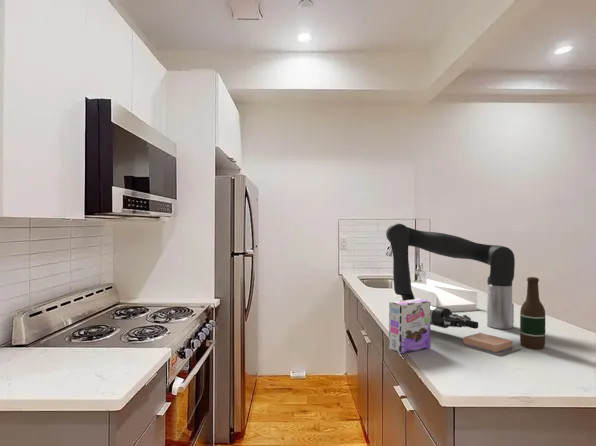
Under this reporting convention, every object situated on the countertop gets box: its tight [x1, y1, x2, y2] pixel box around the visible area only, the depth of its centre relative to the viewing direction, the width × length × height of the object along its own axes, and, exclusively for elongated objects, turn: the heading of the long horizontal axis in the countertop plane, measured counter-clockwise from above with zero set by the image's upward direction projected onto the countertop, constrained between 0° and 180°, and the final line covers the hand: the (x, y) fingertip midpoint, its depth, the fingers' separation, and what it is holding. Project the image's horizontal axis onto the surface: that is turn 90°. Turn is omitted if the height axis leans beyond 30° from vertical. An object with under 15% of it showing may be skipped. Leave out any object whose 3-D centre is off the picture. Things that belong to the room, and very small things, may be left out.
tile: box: [463, 332, 513, 352], centre depth 146 cm, size 10×2×12 cm
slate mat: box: [464, 344, 521, 357], centre depth 145 cm, size 12×13×1 cm
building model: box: [391, 278, 478, 313], centre depth 224 cm, size 45×22×10 cm, turn 14°
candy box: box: [388, 299, 431, 355], centre depth 144 cm, size 14×6×16 cm, turn 117°
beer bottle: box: [519, 276, 546, 350], centre depth 147 cm, size 8×8×24 cm
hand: (477, 325), depth 150 cm, fingers closed
